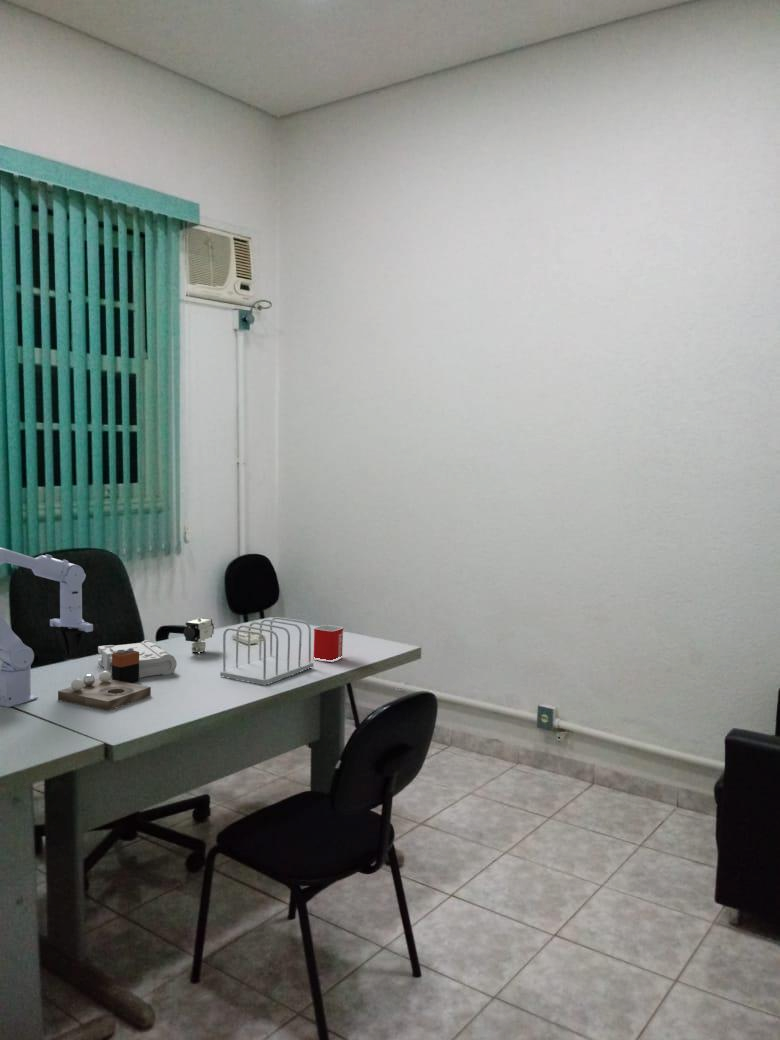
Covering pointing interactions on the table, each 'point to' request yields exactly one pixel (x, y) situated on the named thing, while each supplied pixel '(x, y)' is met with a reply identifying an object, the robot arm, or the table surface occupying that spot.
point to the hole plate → (105, 694)
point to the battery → (125, 666)
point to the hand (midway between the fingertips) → (71, 654)
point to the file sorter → (267, 666)
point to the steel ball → (88, 680)
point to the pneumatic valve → (198, 633)
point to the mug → (328, 642)
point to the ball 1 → (77, 684)
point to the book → (141, 658)
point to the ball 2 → (105, 676)
